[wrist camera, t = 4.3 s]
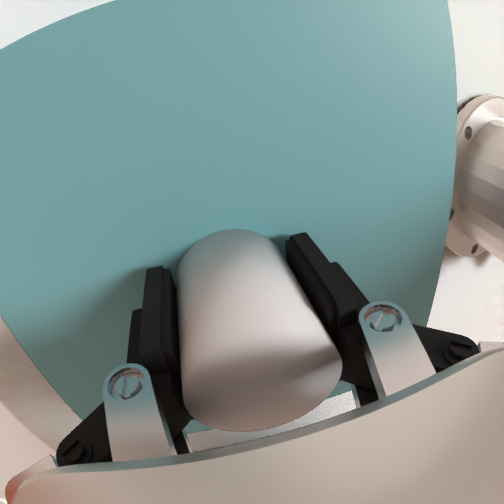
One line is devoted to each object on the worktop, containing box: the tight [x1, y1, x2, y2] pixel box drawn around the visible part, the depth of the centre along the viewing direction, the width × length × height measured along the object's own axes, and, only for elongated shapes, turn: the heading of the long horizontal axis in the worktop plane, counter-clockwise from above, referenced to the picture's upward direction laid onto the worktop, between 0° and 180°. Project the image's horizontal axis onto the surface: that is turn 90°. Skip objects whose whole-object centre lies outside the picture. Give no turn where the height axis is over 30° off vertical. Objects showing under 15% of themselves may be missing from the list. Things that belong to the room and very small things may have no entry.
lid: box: [0, 0, 457, 434], centre depth 10 cm, size 20×20×6 cm
